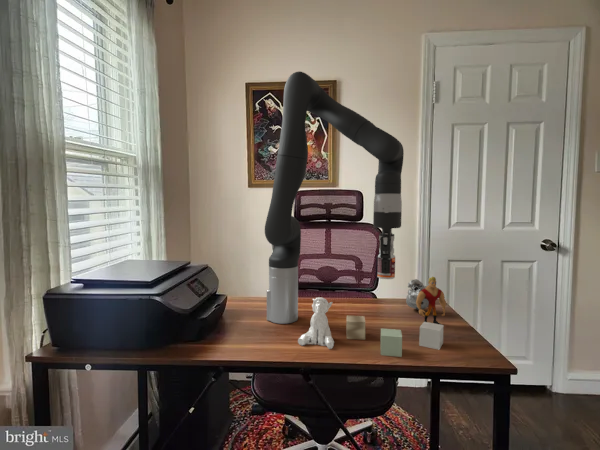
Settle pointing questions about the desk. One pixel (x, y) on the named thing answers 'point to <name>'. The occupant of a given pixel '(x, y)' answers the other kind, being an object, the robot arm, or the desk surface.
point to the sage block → (391, 342)
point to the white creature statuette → (318, 326)
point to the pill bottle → (392, 266)
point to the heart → (415, 294)
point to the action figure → (431, 299)
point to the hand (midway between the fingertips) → (386, 271)
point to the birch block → (355, 327)
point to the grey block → (431, 335)
